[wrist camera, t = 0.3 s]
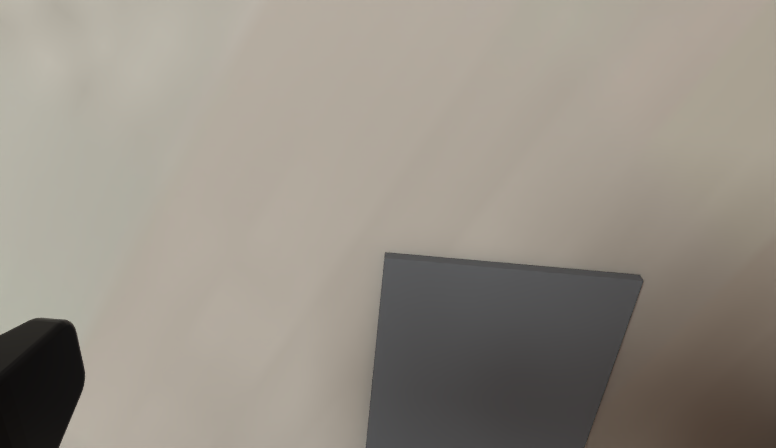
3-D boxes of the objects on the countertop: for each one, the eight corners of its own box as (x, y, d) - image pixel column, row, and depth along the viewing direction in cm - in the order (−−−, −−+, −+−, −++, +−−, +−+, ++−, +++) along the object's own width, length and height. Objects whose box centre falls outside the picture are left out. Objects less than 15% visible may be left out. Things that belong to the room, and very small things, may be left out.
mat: (568, 478, 29) (570, 486, 29) (364, 461, 29) (364, 468, 29) (640, 275, 24) (643, 280, 23) (385, 252, 23) (384, 257, 23)
